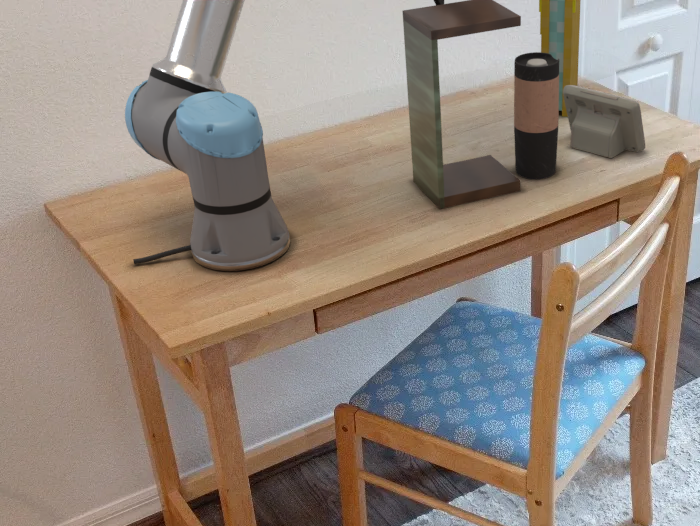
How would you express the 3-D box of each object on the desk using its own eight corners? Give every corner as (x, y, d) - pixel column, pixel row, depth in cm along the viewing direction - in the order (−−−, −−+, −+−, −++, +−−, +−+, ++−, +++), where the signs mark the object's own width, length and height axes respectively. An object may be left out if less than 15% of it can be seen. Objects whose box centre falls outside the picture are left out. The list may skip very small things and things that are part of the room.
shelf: (439, 209, 167) (431, 30, 150) (413, 181, 176) (402, 10, 159) (520, 191, 172) (521, 16, 155) (490, 165, 181) (488, -3, 164)
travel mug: (509, 177, 176) (508, 65, 165) (520, 160, 182) (520, 50, 171) (551, 182, 174) (554, 68, 163) (561, 164, 180) (564, 53, 169)
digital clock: (650, 152, 183) (655, 96, 177) (615, 166, 179) (619, 109, 173) (587, 127, 194) (589, 73, 188) (552, 140, 189) (554, 85, 183)
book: (571, 116, 198) (575, -14, 184) (537, 115, 200) (539, -15, 185) (580, 86, 212) (585, -38, 197) (549, 85, 213) (551, -38, 199)
